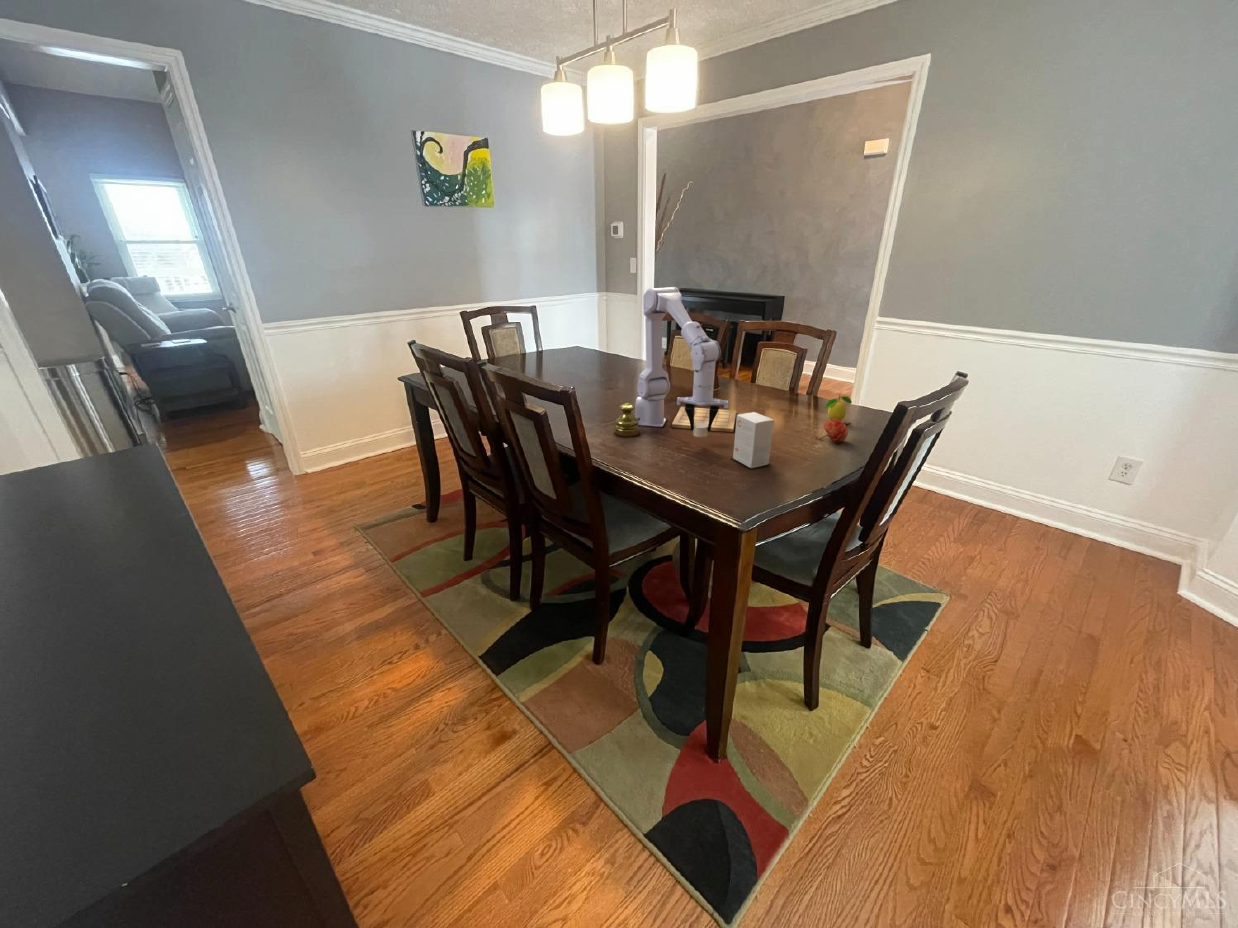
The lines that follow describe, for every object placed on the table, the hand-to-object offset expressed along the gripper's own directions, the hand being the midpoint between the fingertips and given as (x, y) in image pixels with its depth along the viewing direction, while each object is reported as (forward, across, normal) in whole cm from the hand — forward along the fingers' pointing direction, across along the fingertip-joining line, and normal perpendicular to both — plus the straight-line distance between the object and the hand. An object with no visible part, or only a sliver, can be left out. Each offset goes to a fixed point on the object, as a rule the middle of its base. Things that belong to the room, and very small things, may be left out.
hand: (700, 429), depth 145 cm
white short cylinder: (+2, 0, 0) cm, 2 cm away
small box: (+6, +15, -8) cm, 18 cm away
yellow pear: (+6, +42, +33) cm, 54 cm away
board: (+5, -1, +25) cm, 26 cm away
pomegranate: (+6, +39, +14) cm, 42 cm away
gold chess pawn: (+6, -24, +6) cm, 25 cm away
